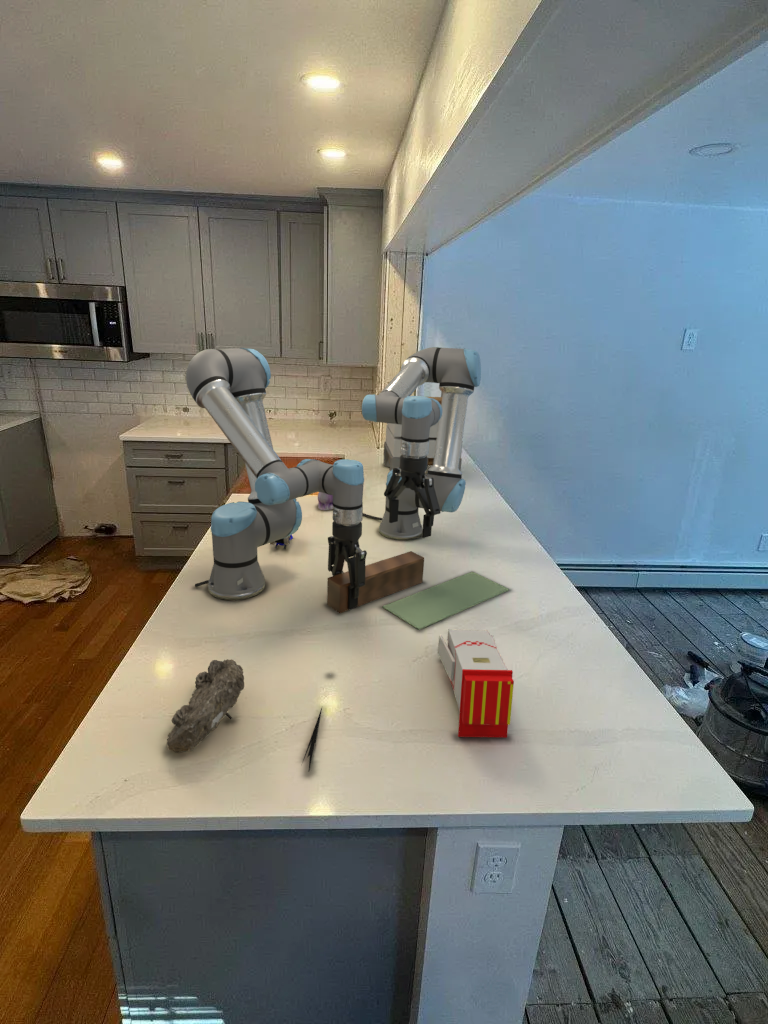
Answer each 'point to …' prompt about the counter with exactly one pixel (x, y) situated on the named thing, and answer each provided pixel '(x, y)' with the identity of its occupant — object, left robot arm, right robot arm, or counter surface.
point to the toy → (478, 682)
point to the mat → (444, 600)
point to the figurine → (325, 501)
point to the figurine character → (282, 542)
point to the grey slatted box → (394, 443)
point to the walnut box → (377, 580)
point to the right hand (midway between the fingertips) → (409, 529)
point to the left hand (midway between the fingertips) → (345, 602)
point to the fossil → (206, 705)
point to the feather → (313, 740)
